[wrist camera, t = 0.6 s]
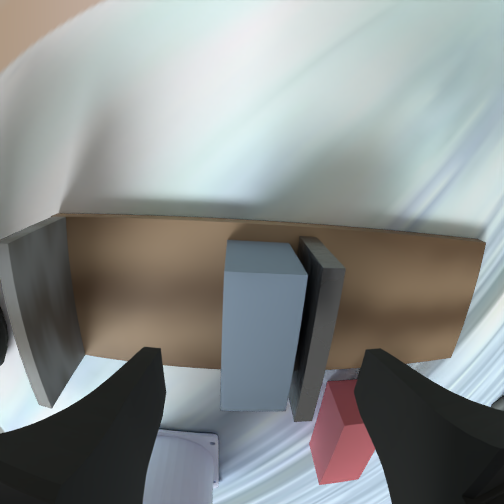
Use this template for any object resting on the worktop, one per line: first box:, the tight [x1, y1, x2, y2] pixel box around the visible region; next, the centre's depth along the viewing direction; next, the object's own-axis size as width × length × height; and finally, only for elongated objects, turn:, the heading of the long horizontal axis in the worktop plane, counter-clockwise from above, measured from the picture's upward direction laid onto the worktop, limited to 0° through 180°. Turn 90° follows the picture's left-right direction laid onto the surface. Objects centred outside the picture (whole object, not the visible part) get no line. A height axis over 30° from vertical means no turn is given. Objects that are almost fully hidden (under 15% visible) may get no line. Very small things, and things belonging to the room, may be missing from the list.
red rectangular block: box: [309, 379, 375, 485], centre depth 22 cm, size 8×4×5 cm, turn 176°
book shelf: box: [0, 213, 486, 408], centre depth 17 cm, size 10×30×7 cm, turn 86°
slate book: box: [220, 240, 308, 411], centre depth 17 cm, size 8×4×5 cm, turn 176°
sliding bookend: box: [289, 236, 346, 422], centre depth 17 cm, size 9×1×5 cm, turn 176°
